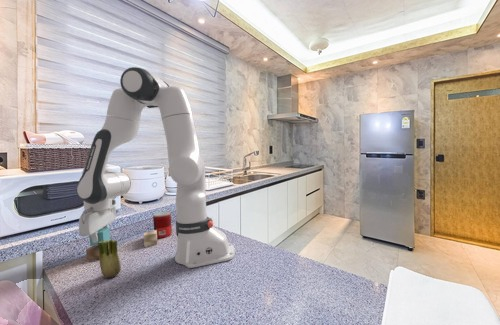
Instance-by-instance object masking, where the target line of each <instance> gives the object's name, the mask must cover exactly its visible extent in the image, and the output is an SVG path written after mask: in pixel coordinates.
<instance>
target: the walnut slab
mask: <svg viewBox="0 0 500 325" xmlns="http://www.w3.org/2000/svg"><path fill="white" fill-rule="evenodd" d="M108 245H109V241H108ZM85 252H86V253H85V255H86V259H87V260H99V245H95V246H90V247H88V248H86V249H85Z"/></svg>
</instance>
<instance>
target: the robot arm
mask: <svg viewBox="0 0 500 325" xmlns="http://www.w3.org/2000/svg"><path fill="white" fill-rule="evenodd" d="M146 107H147V108H148V109H153V108H158V109H159V112H160V117H161V122H162V126H163V131H164V136H165V140H166V146H167V147H166V148H167V160H168V167H169V169H168V170H169V172H168V173H169V176H170V178H171V179H172V181H174V182H175V183H176V193H175V214H176V221H175V234H176V237H177V238H176V250H175V256H174V261H175V262H176V263H177V264H180V265H183V266H185V267H186V268H188V269H192V268H197V267H203V266H208V265H212V264H218V263H221V262H228V261H230V260H232V259H233V258H234V256H235V252H236V250H235V247H234V245H233V244H232V243H231V242H229V239H228V236H227V235H226V234H225V233H224V232H223V231H222V230H220V229H218V228H216V227H215V226H214V222H213V217H209V216H207V215H208V214H207V211H208V210H207V199H206V198H207V196H206V192H207V190H206V187H207V186H206V166H205V161H204V160H203V159H202V158H201V153H200V148H199V147H200V146H199V142H198V140H199V139H198V134H197V130H196V125H195V120H194V116H193V112H192V109H191V108H192V107H191V104H190V101H189V99H188V96H187V94H186V92H185V91H184V90H183V88H181V87H179V86H174V85H172V86H170V85H169V84H168V83H167V82H166V81H164V80H163V79H162V78H160V77H159V76H157V75H156V74H154V73H152V72H150V71H148V70H146V69H144V68H141V67H137V66H136V67H135V66H133V67H129V68H126V69H125V70H124V71H122V74H121V76H120V88H115V89H114V90H113V91H112V94H111V96H110V99H109V101H108V106H107V109H106V110H107V111H106V117H105V121H104V123H103V125H102V127H101V129H100V130H98V131H97V132H96V134H95V135H94V138H93V140H92V142H91V146H90V149H89V152H88V156H87V159H86V163H85V166H84V168H82V172H81V177H80V178H79V179H78V182H77V184H76V185H77V186H76V194H77V196H78V197H79V199H80V200H81V201H83V211H82V213H81V214H80V216H79V219H78V235H79V236H80V237H88V236H91V238H92V242H93V243H97V242H98V241H99V237H98V236H97V233H98V232H97V231H98V230H100V229H103V228H109V229H110V224H111V223H112V222H114V221H115V220H116V218H117V209H116V208H117V207H116V203H117V200H116V199H114V198H116V197H119V196H120V197H121V196H123V195H125V194H127V193H128V192H129V191H130V190H131V187H132V186H131V185H132V184H131V179H130V177H129V175H128V174H126V172H122V171H118V170H113V169H111V168H109V167H108V166H107V164H108V162H109V158H110V155H111V153H112V152H113V151H114V150H115V149H116V148H118V147H119V146H122V145H124V144H126V143H128V142H129V143H130V141H132V140H134V138H136V137H137V135H138V132H139V130H140V123H141V116H142V111H143V109H144V108H146Z"/></svg>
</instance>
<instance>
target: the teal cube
mask: <svg viewBox="0 0 500 325" xmlns="http://www.w3.org/2000/svg"><path fill="white" fill-rule="evenodd" d="M97 232H98V233H97V236H98V237H99V241H98V242H101V241H103V242H104V241H108V242H109V240H111V230H110V227H109V228H101V229H100V230H98V231H97ZM98 242H97V243H93V242H92V238H91V236H89V246H90V247H92V246H95V245H98Z"/></svg>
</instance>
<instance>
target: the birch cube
mask: <svg viewBox="0 0 500 325" xmlns="http://www.w3.org/2000/svg"><path fill="white" fill-rule="evenodd" d="M143 233H144V234H143V241H144V242H143V243H144V247H145V248H146V247H150V246H151V245H152V246H156V245H158V238H157V230H154V229H153V230H150V231H149V230H148V231H144V232H143Z"/></svg>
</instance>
